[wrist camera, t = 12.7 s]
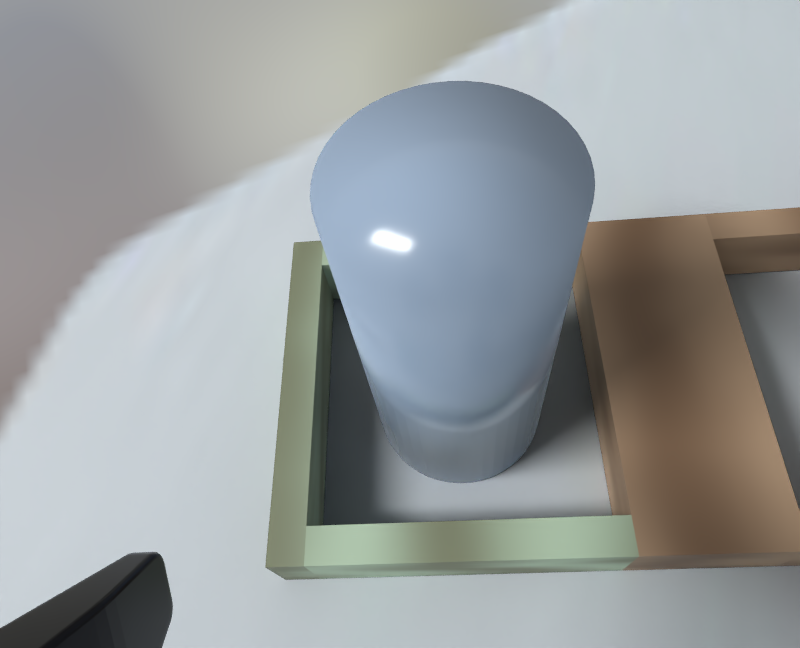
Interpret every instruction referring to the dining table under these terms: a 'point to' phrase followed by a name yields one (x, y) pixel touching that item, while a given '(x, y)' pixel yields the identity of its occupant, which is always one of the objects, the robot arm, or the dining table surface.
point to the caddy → (614, 411)
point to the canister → (455, 263)
